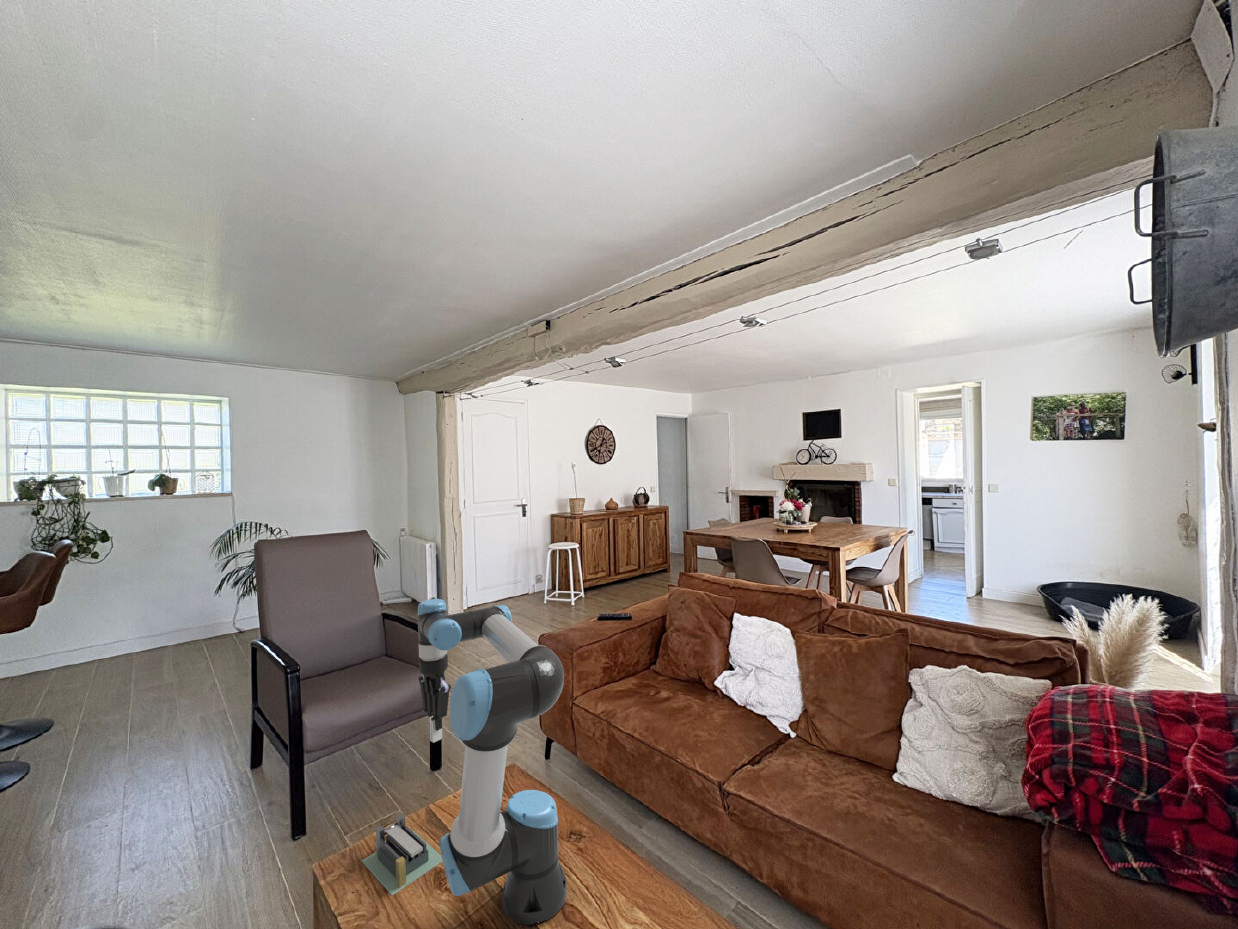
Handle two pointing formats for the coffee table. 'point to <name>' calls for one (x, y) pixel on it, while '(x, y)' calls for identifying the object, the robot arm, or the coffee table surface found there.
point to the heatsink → (401, 854)
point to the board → (390, 880)
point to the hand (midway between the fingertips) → (436, 739)
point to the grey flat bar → (403, 840)
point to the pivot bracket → (381, 834)
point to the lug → (400, 872)
